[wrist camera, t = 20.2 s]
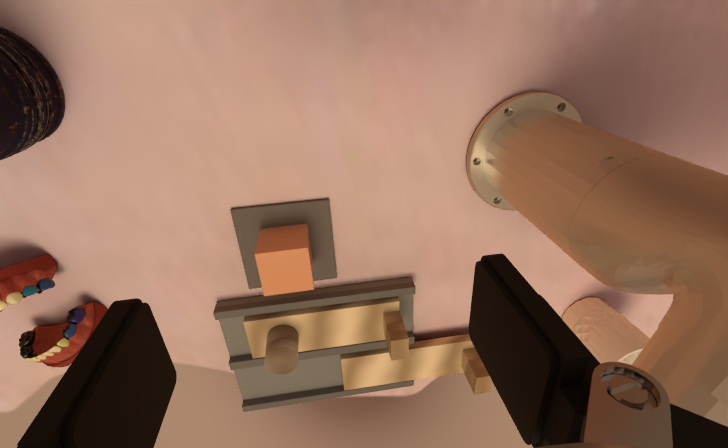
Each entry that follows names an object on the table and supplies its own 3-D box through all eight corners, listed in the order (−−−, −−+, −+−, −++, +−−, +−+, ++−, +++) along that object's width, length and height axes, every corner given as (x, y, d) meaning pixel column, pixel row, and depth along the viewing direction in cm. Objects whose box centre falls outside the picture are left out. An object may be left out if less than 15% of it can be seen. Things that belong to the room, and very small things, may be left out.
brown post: (296, 322, 44) (295, 348, 41) (300, 344, 46) (300, 371, 43) (264, 326, 44) (261, 353, 41) (270, 349, 46) (267, 376, 42)
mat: (328, 198, 40) (328, 200, 40) (336, 276, 45) (336, 277, 45) (231, 208, 39) (230, 210, 39) (249, 286, 44) (249, 288, 44)
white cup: (549, 312, 53) (597, 369, 44) (602, 283, 52) (662, 336, 43) (565, 344, 57) (613, 403, 48) (615, 318, 55) (673, 374, 47)
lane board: (411, 276, 47) (415, 286, 45) (410, 373, 55) (413, 385, 53) (217, 301, 44) (213, 313, 43) (245, 398, 52) (243, 411, 51)
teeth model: (26, 393, 39) (-88, 314, 33) (59, 348, 44) (-34, 273, 39) (98, 358, 38) (-6, 271, 33) (122, 316, 44) (37, 237, 38)
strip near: (397, 294, 46) (408, 328, 41) (397, 330, 49) (408, 366, 44) (244, 314, 44) (237, 352, 39) (254, 351, 47) (248, 391, 42)
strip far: (474, 333, 51) (493, 367, 46) (470, 363, 54) (488, 399, 49) (340, 352, 49) (344, 390, 44) (343, 383, 52) (347, 422, 47)
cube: (307, 223, 41) (307, 247, 36) (313, 262, 43) (314, 289, 39) (259, 228, 40) (254, 254, 36) (268, 268, 43) (264, 296, 38)
